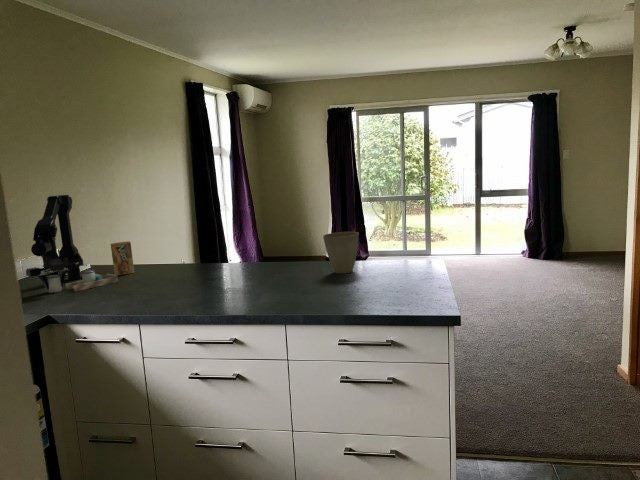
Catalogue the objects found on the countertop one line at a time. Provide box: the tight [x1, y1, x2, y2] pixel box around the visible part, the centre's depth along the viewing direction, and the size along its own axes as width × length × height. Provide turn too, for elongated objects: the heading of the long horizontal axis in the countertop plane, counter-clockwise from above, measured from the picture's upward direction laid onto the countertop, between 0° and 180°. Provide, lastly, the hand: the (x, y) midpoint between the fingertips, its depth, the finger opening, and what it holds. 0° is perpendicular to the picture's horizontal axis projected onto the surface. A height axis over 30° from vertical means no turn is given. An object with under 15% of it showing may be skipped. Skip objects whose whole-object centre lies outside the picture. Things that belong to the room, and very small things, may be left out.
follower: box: [95, 273, 103, 281], centre depth 229 cm, size 1×6×4 cm, turn 48°
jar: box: [47, 274, 63, 294], centre depth 222 cm, size 5×5×7 cm
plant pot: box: [322, 231, 360, 274], centre depth 217 cm, size 15×15×16 cm
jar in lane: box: [81, 269, 96, 284], centre depth 227 cm, size 5×5×7 cm
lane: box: [65, 273, 119, 292], centre depth 228 cm, size 19×9×3 cm, turn 138°
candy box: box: [110, 240, 135, 276], centre depth 249 cm, size 9×4×15 cm, turn 116°
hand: (54, 288), depth 222 cm, fingers closed on jar, 5 cm apart
